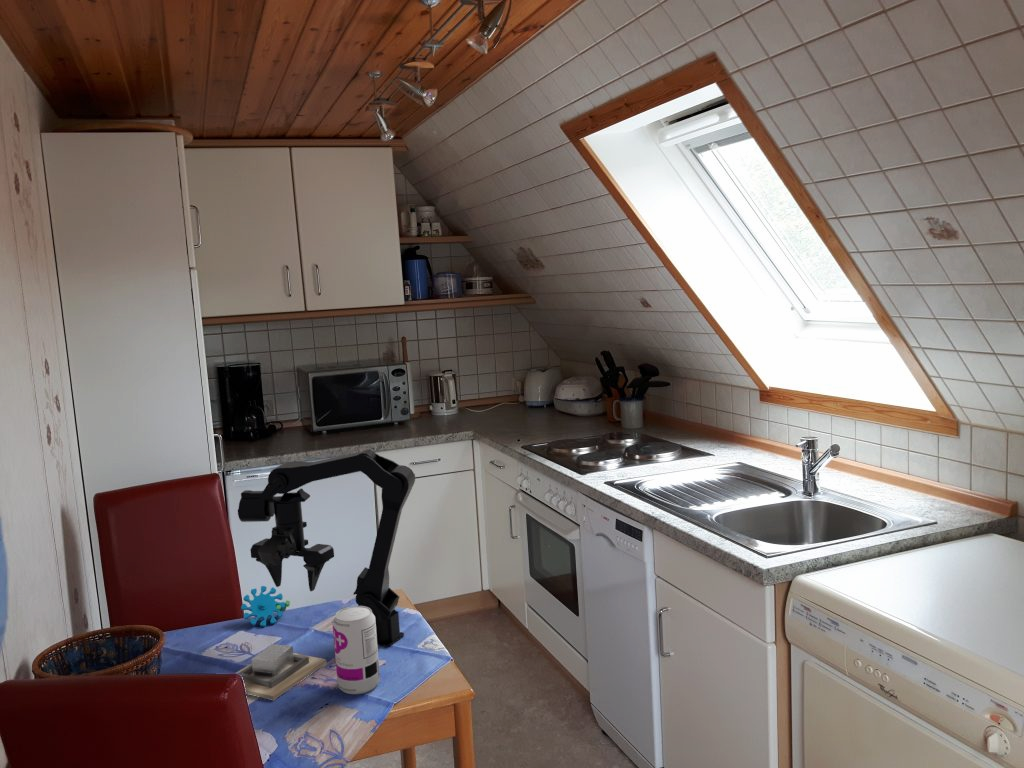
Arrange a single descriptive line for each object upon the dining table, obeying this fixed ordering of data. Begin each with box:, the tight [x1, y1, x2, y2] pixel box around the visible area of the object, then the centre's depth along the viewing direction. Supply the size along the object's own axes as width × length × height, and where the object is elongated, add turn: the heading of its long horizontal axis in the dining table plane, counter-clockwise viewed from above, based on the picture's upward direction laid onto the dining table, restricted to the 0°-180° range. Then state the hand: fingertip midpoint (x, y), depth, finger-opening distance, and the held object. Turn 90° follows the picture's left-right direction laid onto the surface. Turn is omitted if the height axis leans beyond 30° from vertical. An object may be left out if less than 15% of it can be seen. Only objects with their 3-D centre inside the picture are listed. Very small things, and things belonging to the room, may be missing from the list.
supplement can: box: [332, 605, 381, 695], centre depth 162 cm, size 8×8×15 cm
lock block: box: [251, 643, 294, 680], centre depth 169 cm, size 5×7×4 cm
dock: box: [236, 652, 327, 700], centre depth 169 cm, size 14×16×2 cm
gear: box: [240, 585, 291, 628], centre depth 198 cm, size 11×6×10 cm
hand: (295, 588), depth 184 cm, fingers open, 9 cm apart
